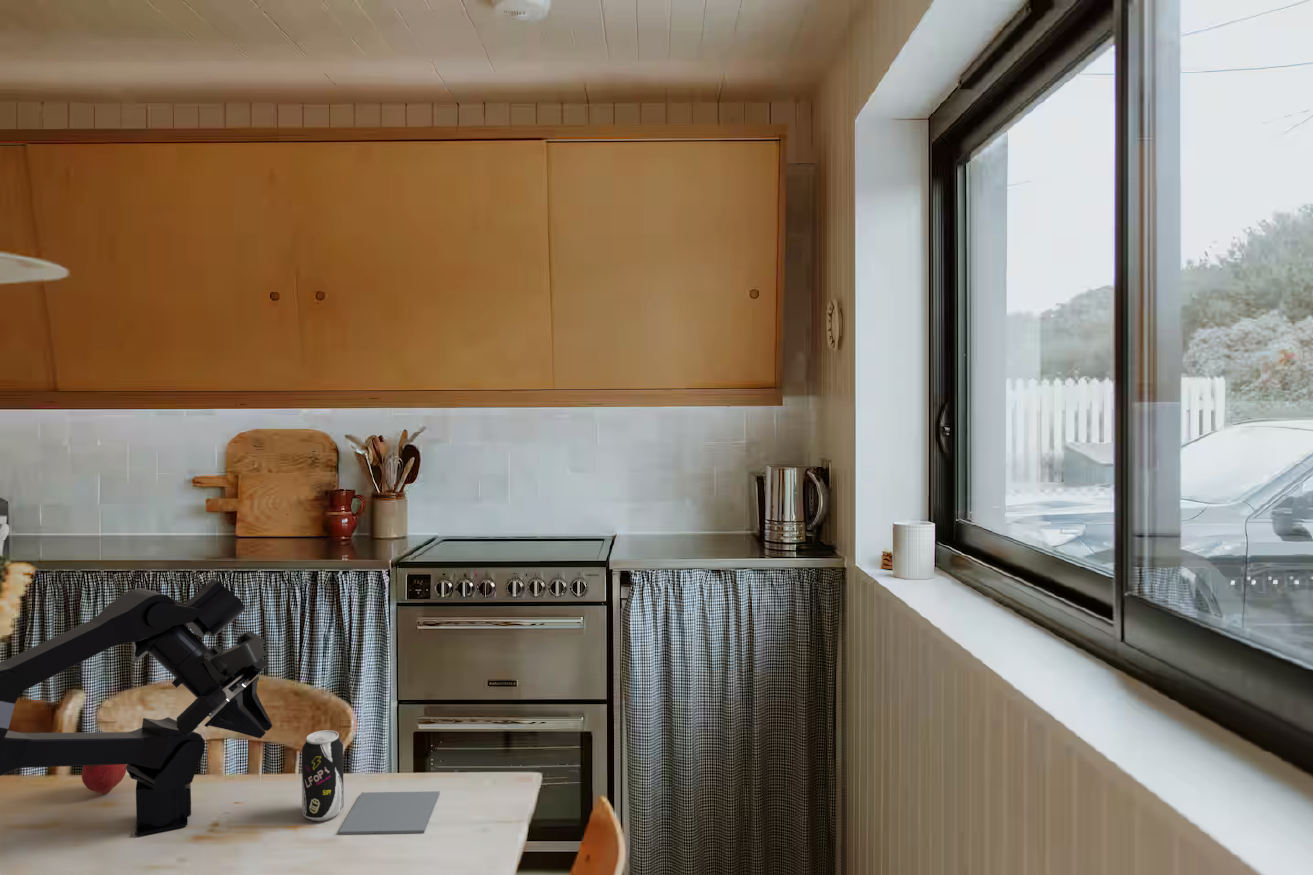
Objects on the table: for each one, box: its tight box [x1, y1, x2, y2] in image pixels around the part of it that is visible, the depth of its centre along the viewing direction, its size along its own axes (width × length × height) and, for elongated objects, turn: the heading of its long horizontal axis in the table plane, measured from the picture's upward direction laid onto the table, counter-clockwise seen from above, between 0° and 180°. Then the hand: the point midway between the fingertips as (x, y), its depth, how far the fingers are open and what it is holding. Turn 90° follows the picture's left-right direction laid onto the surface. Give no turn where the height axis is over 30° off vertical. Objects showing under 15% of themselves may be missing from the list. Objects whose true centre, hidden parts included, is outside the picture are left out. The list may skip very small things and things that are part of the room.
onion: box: [81, 764, 127, 795], centre depth 134 cm, size 6×6×8 cm
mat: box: [338, 790, 441, 835], centre depth 130 cm, size 12×12×1 cm
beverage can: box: [301, 729, 344, 822], centre depth 129 cm, size 6×6×12 cm
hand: (266, 732), depth 128 cm, fingers open, 2 cm apart
